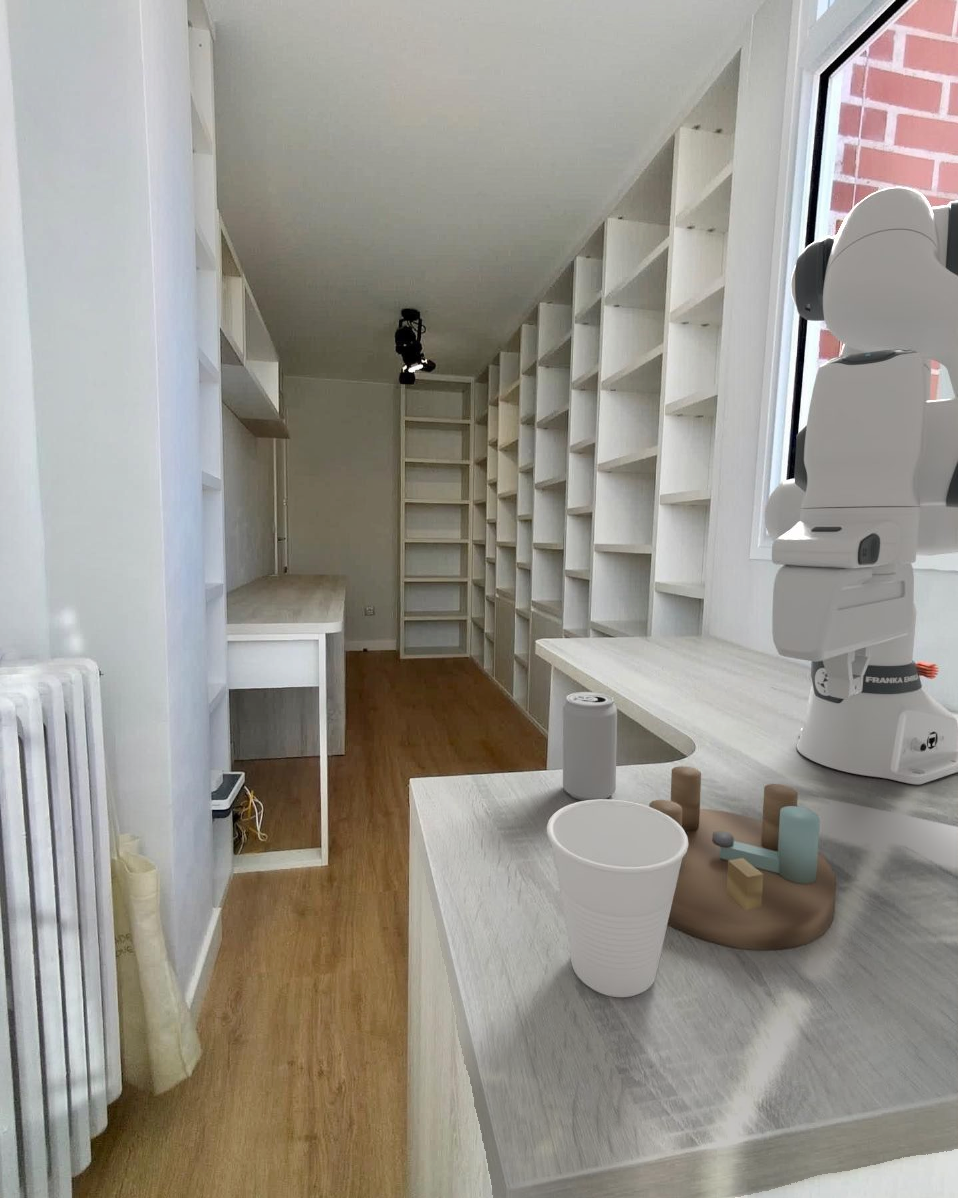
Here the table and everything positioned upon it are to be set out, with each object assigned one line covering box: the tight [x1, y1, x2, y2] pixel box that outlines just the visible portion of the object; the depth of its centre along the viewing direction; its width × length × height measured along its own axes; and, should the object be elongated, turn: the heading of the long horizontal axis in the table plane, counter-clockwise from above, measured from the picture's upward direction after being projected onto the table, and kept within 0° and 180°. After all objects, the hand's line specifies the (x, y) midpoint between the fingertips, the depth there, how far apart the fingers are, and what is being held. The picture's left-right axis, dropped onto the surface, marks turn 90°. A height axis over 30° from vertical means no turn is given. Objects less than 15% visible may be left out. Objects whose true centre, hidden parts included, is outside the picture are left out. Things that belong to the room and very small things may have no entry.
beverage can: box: [562, 691, 618, 801], centre depth 73 cm, size 6×6×12 cm
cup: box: [546, 798, 689, 998], centre depth 44 cm, size 10×10×11 cm
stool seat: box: [648, 765, 837, 951], centre depth 55 cm, size 18×18×8 cm
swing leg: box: [712, 806, 821, 884], centre depth 53 cm, size 8×3×5 cm, turn 59°
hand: (844, 695), depth 55 cm, fingers closed
